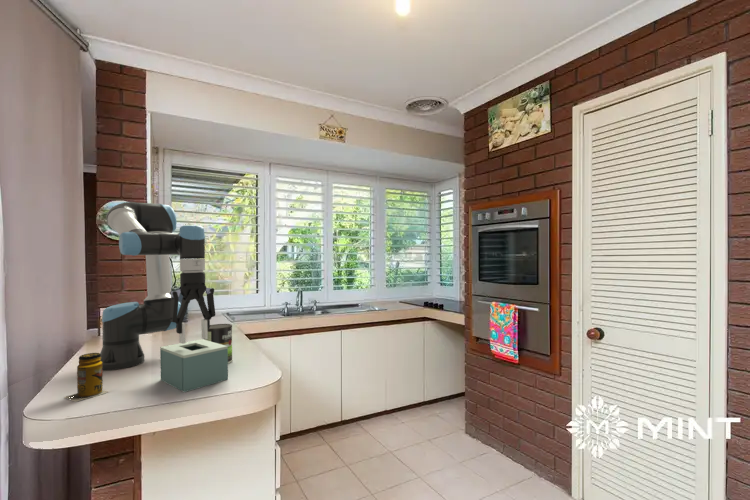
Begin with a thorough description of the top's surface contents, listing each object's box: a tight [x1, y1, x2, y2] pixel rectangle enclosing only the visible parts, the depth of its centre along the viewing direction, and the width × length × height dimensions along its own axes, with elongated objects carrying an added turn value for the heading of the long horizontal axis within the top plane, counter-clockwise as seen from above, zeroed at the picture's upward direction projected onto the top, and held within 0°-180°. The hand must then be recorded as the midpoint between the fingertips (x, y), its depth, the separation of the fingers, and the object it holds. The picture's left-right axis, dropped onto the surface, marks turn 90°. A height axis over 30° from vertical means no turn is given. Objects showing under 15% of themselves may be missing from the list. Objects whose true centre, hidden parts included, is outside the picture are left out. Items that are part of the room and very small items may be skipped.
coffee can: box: [204, 323, 233, 364], centre depth 141 cm, size 10×10×14 cm
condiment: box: [63, 352, 109, 403], centre depth 110 cm, size 7×8×12 cm
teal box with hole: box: [159, 338, 229, 393], centre depth 121 cm, size 18×14×11 cm
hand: (193, 340), depth 121 cm, fingers open, 7 cm apart
